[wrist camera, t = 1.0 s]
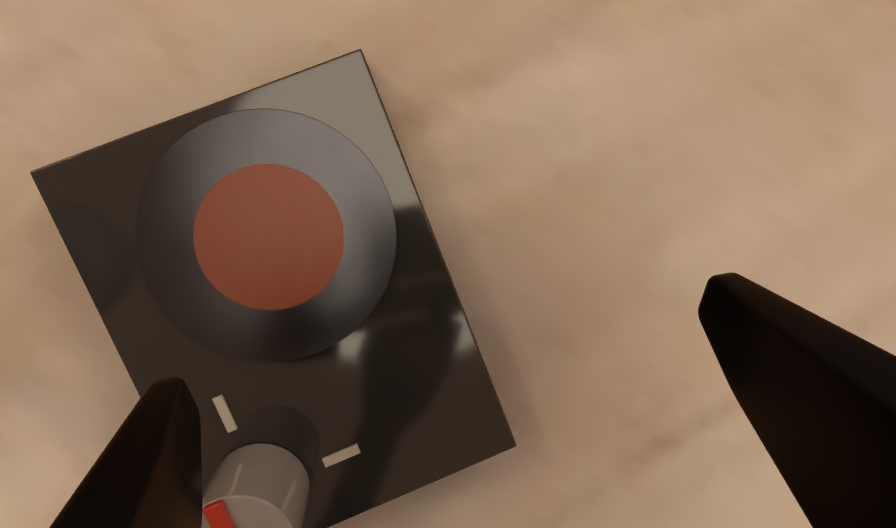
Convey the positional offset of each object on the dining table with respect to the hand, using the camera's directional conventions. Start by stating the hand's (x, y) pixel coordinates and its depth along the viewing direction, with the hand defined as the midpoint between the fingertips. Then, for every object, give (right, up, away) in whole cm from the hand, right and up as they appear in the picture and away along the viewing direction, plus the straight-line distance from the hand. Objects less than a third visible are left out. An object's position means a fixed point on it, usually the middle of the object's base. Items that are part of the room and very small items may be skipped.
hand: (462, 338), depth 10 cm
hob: (-6, 0, +14) cm, 15 cm away
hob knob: (-7, -7, +12) cm, 16 cm away
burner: (-7, +2, +11) cm, 13 cm away
